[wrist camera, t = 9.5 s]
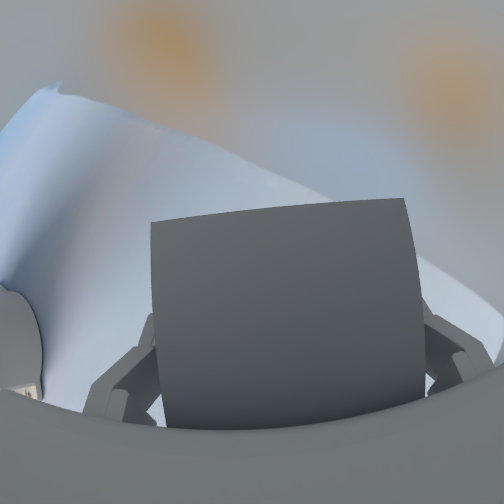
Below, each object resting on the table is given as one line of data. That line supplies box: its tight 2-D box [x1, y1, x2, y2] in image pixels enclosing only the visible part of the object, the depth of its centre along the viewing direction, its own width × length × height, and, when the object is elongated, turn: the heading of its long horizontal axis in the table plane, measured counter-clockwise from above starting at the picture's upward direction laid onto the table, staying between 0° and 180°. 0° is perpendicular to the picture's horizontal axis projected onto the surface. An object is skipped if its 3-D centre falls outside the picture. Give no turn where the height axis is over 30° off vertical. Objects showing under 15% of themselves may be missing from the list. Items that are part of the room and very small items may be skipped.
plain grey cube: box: [151, 198, 426, 430], centre depth 10 cm, size 7×7×8 cm
